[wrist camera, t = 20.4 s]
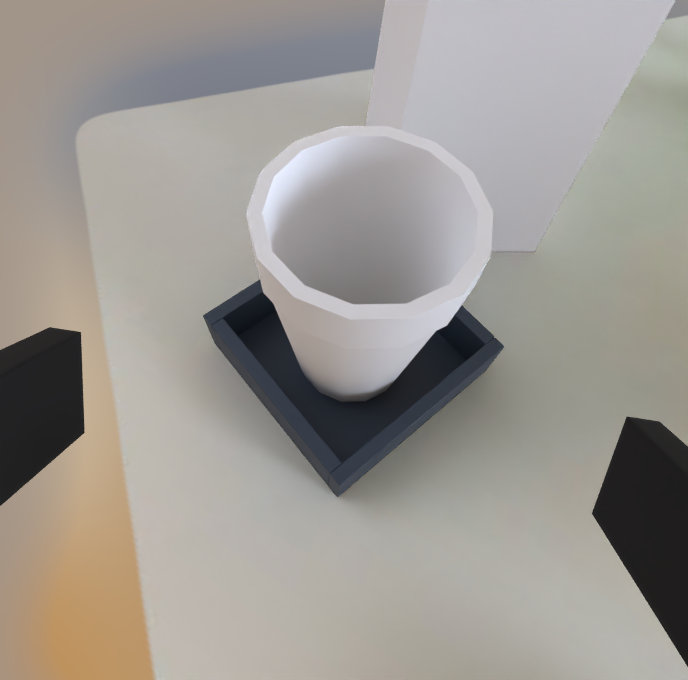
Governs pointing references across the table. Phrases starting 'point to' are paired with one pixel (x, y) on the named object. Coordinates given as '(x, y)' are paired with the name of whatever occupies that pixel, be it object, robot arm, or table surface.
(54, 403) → the robot arm
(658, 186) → the table surface
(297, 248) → the foam cup
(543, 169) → the milk
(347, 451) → the tray
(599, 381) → the table surface
